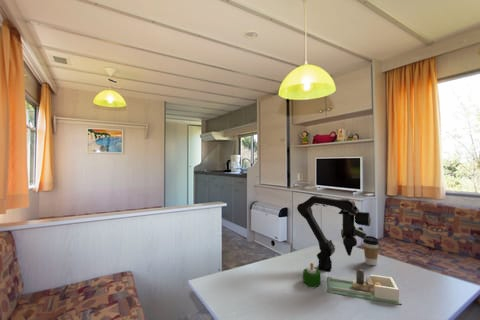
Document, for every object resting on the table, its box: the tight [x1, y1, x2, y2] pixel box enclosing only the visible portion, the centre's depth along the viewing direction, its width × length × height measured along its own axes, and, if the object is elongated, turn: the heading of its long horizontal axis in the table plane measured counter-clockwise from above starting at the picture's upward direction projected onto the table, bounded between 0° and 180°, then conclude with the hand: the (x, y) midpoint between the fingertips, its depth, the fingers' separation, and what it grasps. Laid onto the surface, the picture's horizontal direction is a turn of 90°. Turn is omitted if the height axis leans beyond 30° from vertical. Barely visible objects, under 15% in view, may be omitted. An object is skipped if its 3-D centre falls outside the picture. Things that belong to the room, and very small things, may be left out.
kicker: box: [352, 268, 374, 294], centre depth 113 cm, size 8×7×8 cm
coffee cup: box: [362, 235, 380, 266], centre depth 142 cm, size 8×8×15 cm
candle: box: [302, 262, 321, 288], centre depth 120 cm, size 8×8×10 cm
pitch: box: [327, 274, 402, 306], centre depth 113 cm, size 29×15×5 cm, turn 71°
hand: (348, 252), depth 128 cm, fingers open, 9 cm apart
